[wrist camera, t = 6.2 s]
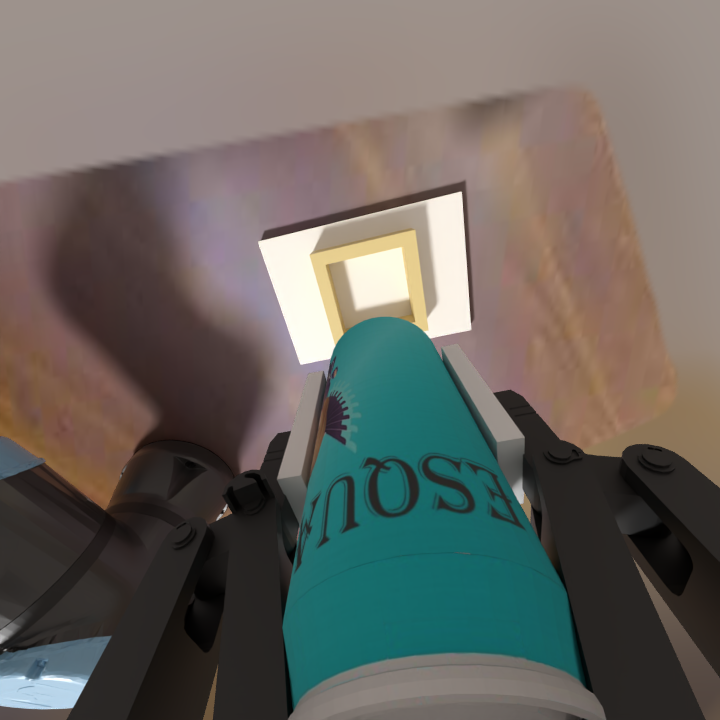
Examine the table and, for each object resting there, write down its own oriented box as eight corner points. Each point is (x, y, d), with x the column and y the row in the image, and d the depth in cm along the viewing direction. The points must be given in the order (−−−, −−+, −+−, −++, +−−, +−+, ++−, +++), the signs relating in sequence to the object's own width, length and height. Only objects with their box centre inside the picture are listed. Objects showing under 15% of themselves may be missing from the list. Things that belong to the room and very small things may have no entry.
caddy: (301, 360, 38) (296, 375, 34) (260, 240, 32) (249, 244, 28) (468, 326, 36) (478, 338, 33) (458, 192, 30) (470, 190, 27)
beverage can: (334, 302, 17) (240, 679, 3) (439, 310, 17) (734, 692, 4) (330, 392, 19) (269, 810, 6) (421, 397, 20) (559, 813, 6)
